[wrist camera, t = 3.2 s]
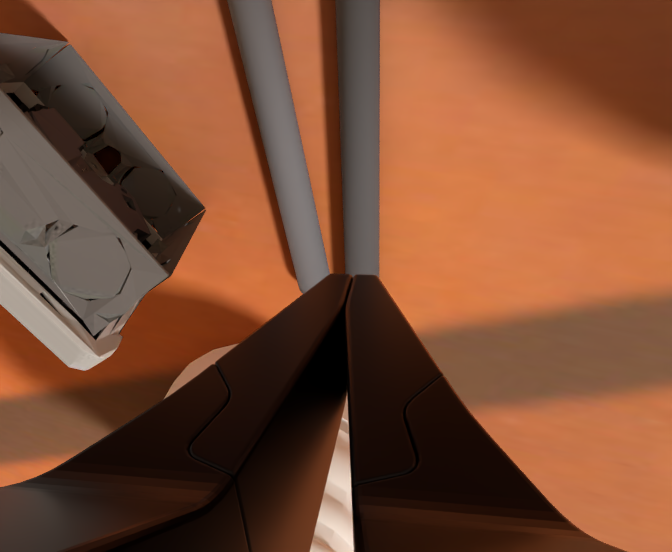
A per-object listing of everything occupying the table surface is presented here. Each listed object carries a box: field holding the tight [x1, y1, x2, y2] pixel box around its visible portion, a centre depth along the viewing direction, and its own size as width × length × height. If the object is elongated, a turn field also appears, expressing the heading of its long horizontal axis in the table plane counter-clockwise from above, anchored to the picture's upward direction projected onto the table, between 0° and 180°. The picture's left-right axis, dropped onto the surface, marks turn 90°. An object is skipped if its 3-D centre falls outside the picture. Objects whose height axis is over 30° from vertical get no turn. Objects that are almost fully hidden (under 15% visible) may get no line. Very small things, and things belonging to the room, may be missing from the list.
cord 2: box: [335, 0, 380, 278], centre depth 19 cm, size 1×16×1 cm, turn 2°
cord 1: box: [227, 0, 330, 294], centre depth 19 cm, size 1×15×1 cm, turn 11°
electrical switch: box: [0, 33, 206, 371], centre depth 17 cm, size 9×5×9 cm, turn 34°
